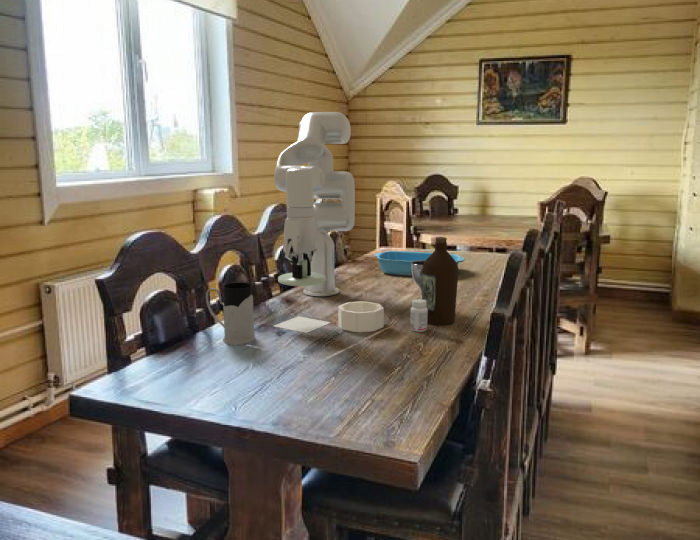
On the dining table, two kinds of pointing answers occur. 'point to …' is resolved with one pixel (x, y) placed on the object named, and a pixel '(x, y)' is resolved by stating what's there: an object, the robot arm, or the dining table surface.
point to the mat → (302, 324)
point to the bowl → (360, 316)
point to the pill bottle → (418, 315)
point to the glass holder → (236, 313)
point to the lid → (306, 280)
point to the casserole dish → (404, 261)
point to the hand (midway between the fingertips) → (301, 276)
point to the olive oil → (440, 284)
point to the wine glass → (417, 273)
